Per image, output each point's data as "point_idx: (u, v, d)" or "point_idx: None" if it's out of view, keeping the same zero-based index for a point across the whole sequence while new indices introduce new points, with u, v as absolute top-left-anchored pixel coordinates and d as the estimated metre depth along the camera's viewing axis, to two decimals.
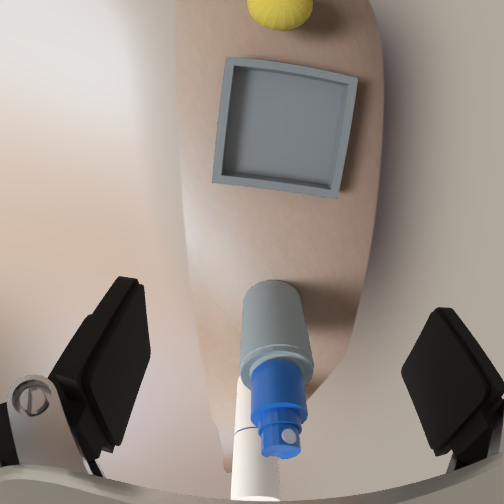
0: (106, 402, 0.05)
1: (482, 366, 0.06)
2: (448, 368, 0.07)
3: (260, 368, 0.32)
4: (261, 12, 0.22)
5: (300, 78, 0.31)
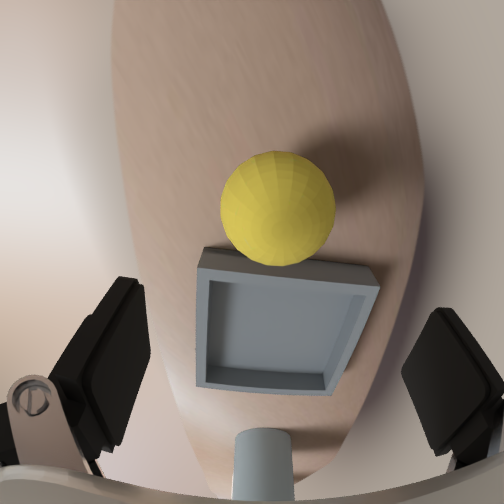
0: (106, 402, 0.05)
1: (482, 366, 0.06)
2: (448, 368, 0.07)
3: None
4: (243, 253, 0.17)
5: None
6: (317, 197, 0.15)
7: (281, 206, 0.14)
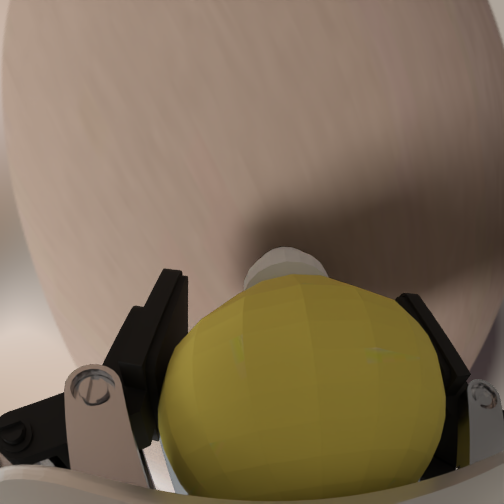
0: None
1: (443, 350, 0.06)
2: None
3: None
4: None
5: None
6: (426, 457, 0.04)
7: None
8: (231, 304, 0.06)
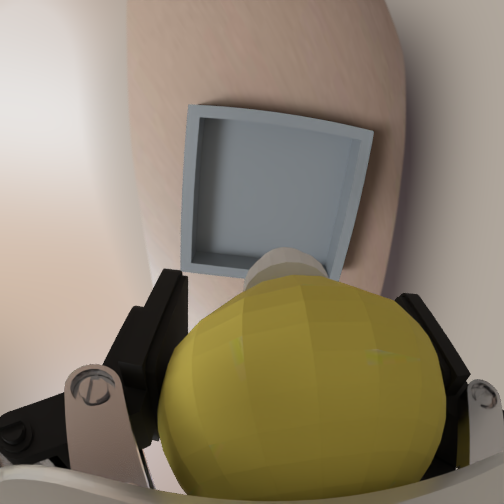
0: None
1: (443, 350, 0.06)
2: None
3: None
4: None
5: (294, 129, 0.24)
6: (425, 459, 0.04)
7: None
8: (231, 305, 0.06)
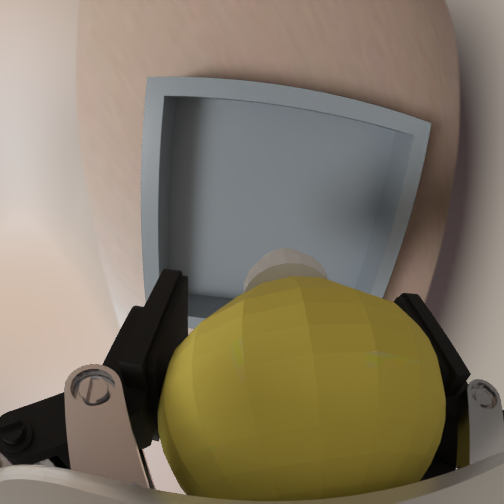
0: None
1: (443, 350, 0.06)
2: None
3: None
4: None
5: (311, 115, 0.16)
6: (425, 460, 0.04)
7: None
8: (231, 307, 0.06)
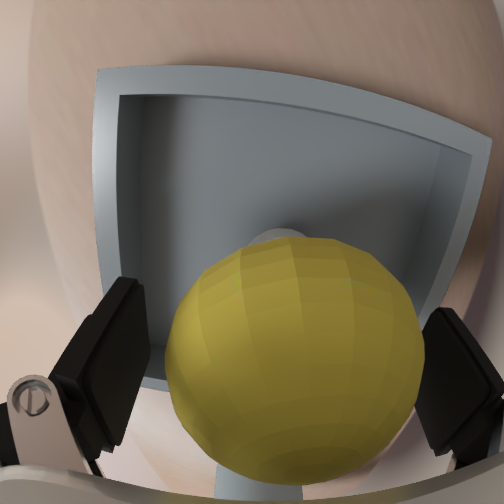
0: (106, 402, 0.05)
1: (482, 366, 0.06)
2: (448, 368, 0.07)
3: None
4: None
5: (334, 121, 0.11)
6: (406, 388, 0.05)
7: (316, 440, 0.04)
8: (231, 254, 0.07)
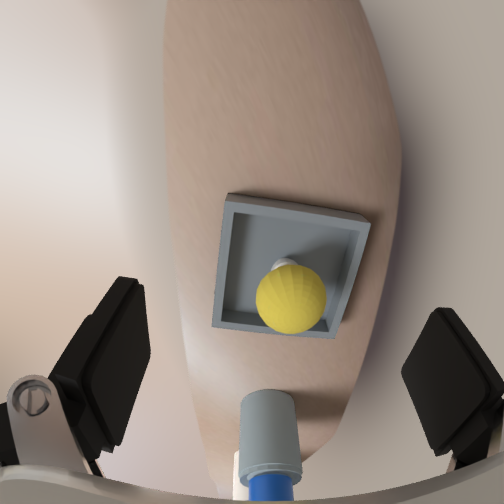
0: (106, 402, 0.05)
1: (482, 366, 0.06)
2: (448, 368, 0.07)
3: (256, 479, 0.31)
4: None
5: None
6: (316, 299, 0.26)
7: (296, 306, 0.25)
8: (275, 269, 0.28)
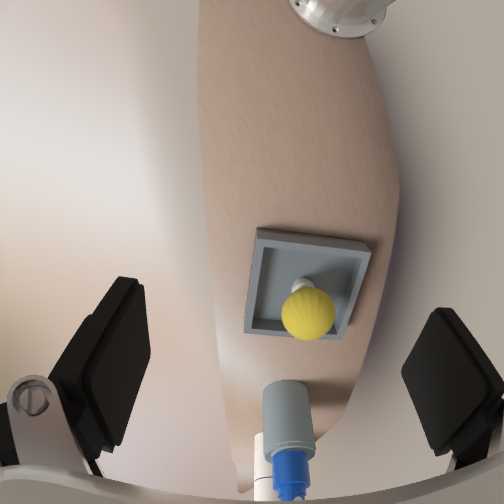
0: (106, 402, 0.05)
1: (482, 366, 0.06)
2: (448, 368, 0.07)
3: (278, 455, 0.40)
4: (293, 335, 0.36)
5: None
6: (327, 315, 0.34)
7: (312, 322, 0.33)
8: (296, 292, 0.36)
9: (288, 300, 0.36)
